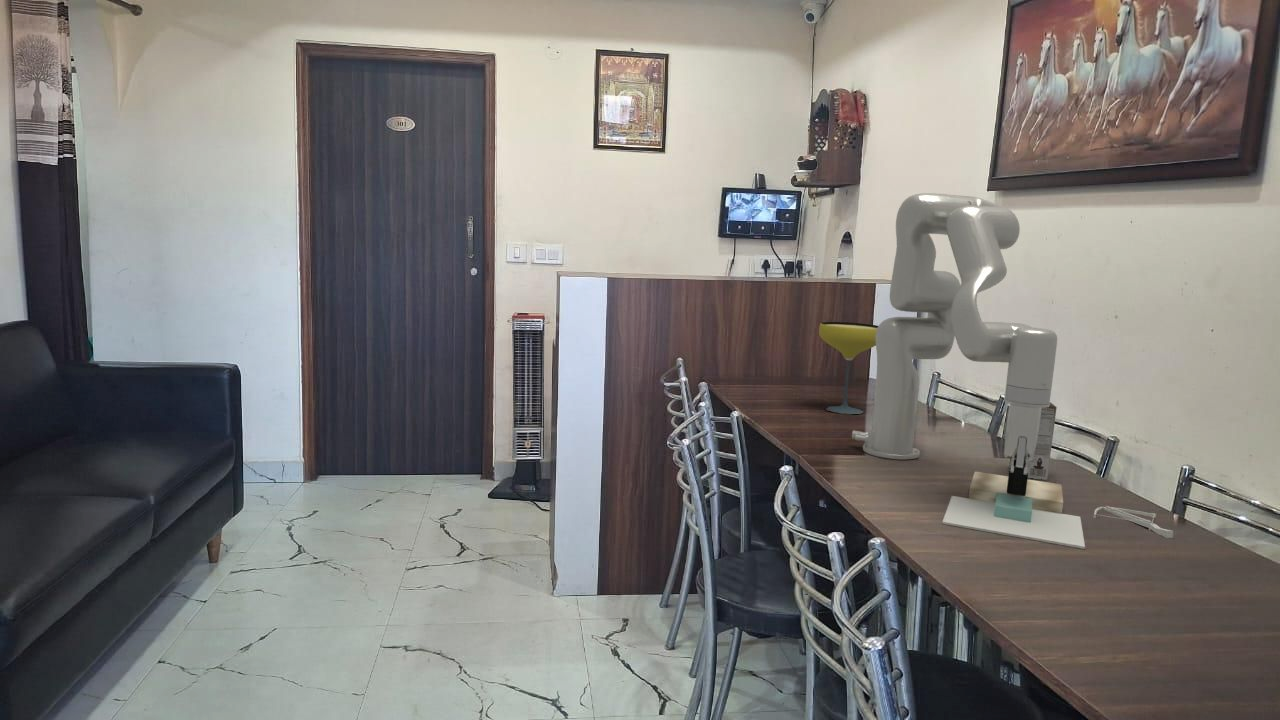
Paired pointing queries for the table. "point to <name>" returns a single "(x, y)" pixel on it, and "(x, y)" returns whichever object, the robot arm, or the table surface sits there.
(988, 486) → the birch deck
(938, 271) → the robot arm
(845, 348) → the cocktail glass
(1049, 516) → the white mat
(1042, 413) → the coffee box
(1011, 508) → the teal tile
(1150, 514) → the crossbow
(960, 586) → the table surface
